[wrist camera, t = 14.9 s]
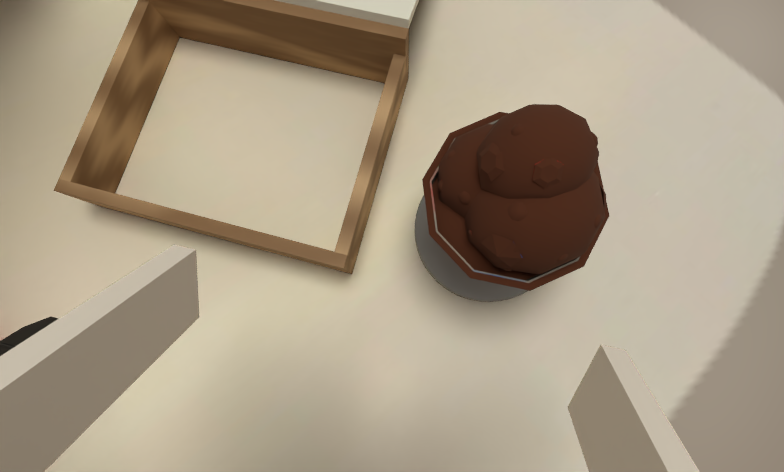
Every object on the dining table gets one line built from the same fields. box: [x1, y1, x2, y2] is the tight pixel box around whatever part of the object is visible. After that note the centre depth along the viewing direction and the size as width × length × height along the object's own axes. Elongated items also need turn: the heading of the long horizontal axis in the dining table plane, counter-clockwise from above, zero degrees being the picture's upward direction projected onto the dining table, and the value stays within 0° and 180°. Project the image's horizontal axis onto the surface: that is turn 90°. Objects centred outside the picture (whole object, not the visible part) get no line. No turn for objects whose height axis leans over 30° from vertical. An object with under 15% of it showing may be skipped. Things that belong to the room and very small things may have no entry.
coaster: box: [415, 196, 528, 302], centre depth 33 cm, size 12×12×1 cm
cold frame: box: [54, 0, 409, 274], centre depth 32 cm, size 19×24×6 cm
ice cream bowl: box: [422, 104, 609, 291], centre depth 25 cm, size 11×11×15 cm
